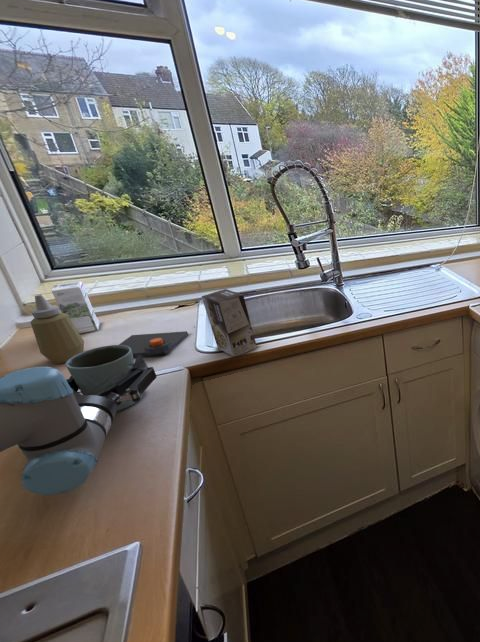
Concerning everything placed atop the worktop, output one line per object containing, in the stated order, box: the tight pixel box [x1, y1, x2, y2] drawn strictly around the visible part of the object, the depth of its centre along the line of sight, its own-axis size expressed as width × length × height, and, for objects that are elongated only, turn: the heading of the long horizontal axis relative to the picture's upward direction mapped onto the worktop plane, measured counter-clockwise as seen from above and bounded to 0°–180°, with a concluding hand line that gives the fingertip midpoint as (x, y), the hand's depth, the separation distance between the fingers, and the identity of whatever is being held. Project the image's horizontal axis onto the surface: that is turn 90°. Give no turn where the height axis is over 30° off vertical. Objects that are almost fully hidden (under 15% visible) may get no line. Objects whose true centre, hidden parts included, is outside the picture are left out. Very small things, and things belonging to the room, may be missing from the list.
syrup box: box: [51, 280, 100, 335], centre depth 119 cm, size 6×6×14 cm
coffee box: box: [201, 288, 257, 358], centre depth 111 cm, size 9×6×16 cm
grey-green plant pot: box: [65, 344, 143, 412], centre depth 88 cm, size 10×10×12 cm
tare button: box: [150, 338, 164, 347], centre depth 109 cm, size 3×3×2 cm
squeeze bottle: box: [30, 294, 85, 364], centre depth 104 cm, size 8×8×18 cm
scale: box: [118, 330, 189, 359], centre depth 112 cm, size 15×13×3 cm
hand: (112, 366), depth 91 cm, fingers closed on grey-green plant pot, 10 cm apart
